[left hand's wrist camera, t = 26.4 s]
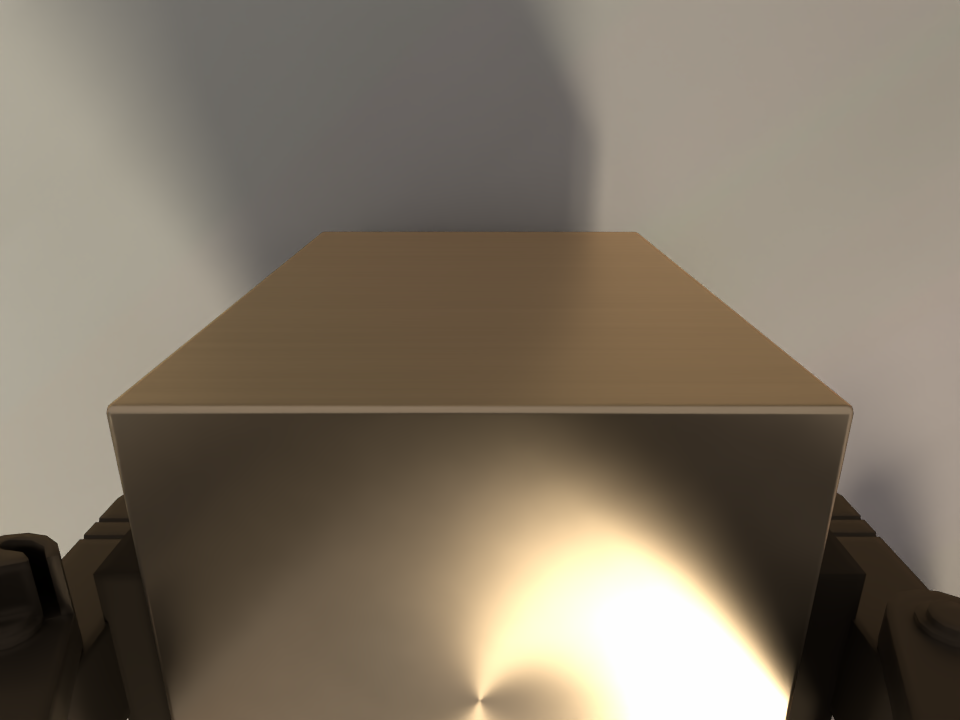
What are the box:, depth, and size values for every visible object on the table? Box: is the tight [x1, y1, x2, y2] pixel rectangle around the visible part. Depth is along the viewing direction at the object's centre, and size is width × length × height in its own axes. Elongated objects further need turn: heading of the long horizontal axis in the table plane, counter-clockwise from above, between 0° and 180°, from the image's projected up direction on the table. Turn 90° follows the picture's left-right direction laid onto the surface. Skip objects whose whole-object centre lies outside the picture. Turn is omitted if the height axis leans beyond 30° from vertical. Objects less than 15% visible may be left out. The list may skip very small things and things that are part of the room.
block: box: [107, 232, 853, 720], centre depth 12 cm, size 7×7×10 cm
